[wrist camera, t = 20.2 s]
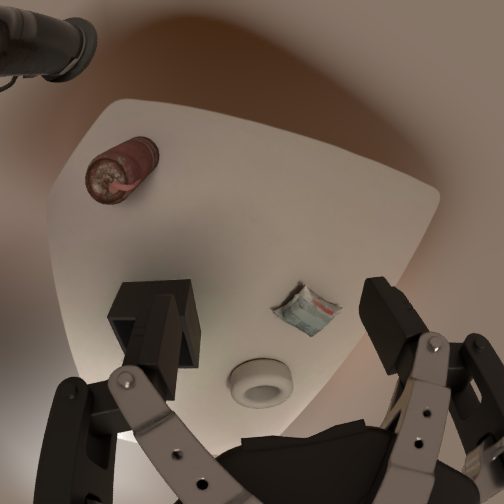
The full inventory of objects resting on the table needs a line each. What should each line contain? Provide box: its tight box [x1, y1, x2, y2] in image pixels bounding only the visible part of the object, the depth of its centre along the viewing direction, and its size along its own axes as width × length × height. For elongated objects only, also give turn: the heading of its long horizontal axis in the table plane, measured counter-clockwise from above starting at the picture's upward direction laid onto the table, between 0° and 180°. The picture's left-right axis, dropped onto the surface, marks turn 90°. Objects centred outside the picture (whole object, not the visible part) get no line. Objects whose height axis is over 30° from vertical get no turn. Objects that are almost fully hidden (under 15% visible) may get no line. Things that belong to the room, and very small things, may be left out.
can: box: [85, 137, 159, 205], centre depth 34 cm, size 6×6×14 cm
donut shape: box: [231, 359, 293, 409], centre depth 65 cm, size 15×15×7 cm
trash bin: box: [107, 279, 201, 368], centre depth 50 cm, size 14×14×10 cm
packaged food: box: [274, 284, 344, 337], centre depth 55 cm, size 9×12×5 cm
